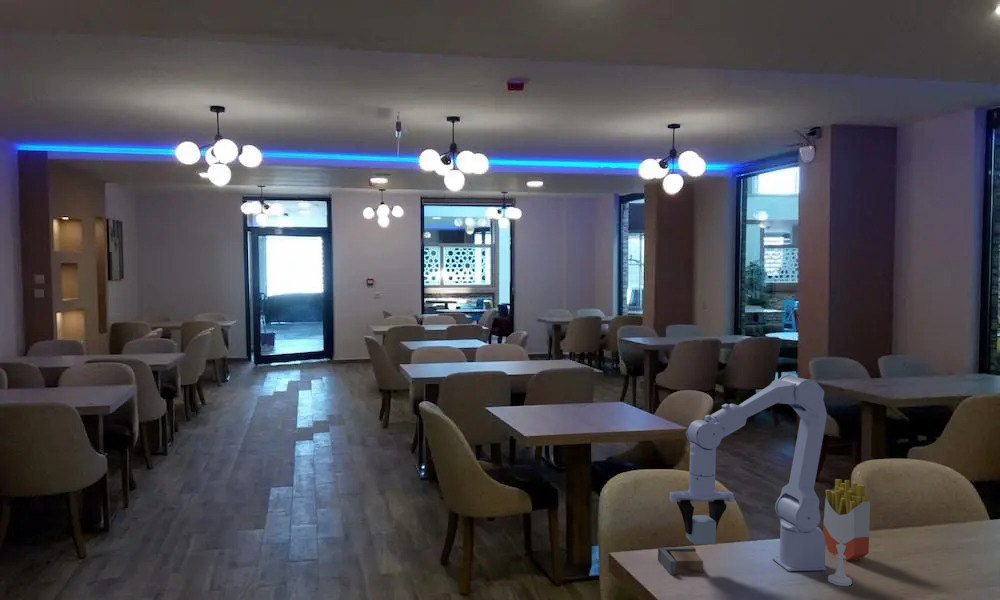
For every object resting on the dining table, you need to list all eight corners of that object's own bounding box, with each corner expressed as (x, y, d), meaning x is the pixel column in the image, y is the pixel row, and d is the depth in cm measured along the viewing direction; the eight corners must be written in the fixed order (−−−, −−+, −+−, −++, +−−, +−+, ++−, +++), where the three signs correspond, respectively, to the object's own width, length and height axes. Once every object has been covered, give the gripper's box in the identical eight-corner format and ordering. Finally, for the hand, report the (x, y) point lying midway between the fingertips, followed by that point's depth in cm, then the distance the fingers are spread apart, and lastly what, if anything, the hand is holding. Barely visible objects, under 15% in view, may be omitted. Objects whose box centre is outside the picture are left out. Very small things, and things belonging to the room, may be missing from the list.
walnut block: (695, 564, 176) (695, 551, 176) (702, 574, 170) (702, 561, 170) (669, 564, 176) (670, 551, 176) (676, 573, 170) (676, 560, 170)
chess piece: (854, 587, 164) (856, 541, 164) (830, 584, 165) (831, 539, 165) (848, 578, 169) (850, 534, 169) (825, 576, 170) (826, 532, 170)
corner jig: (693, 559, 179) (693, 547, 178) (707, 573, 170) (708, 560, 170) (657, 560, 178) (658, 547, 178) (670, 574, 169) (670, 561, 169)
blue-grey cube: (706, 536, 175) (707, 515, 174) (715, 543, 170) (716, 521, 170) (685, 537, 174) (686, 515, 174) (694, 544, 169) (694, 522, 169)
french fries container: (852, 565, 177) (854, 488, 177) (821, 549, 188) (823, 477, 187) (868, 563, 178) (870, 487, 178) (836, 547, 189) (839, 476, 188)
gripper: (725, 469, 176) (723, 526, 177) (665, 469, 175) (663, 527, 175) (738, 476, 169) (736, 536, 170) (676, 477, 168) (674, 537, 168)
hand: (700, 532), depth 172 cm, fingers closed on blue-grey cube, 5 cm apart
